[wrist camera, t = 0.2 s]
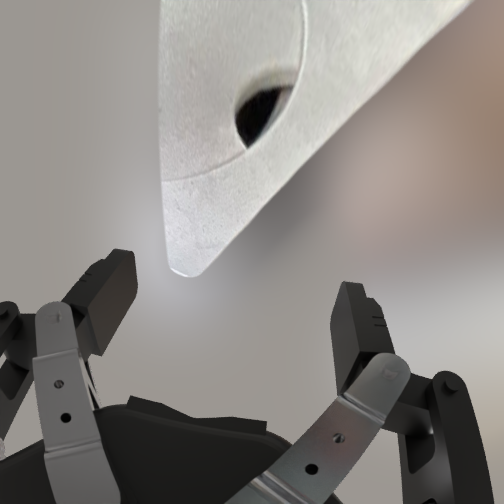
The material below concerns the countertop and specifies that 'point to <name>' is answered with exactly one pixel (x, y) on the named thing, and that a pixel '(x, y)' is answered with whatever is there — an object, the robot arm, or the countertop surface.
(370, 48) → the countertop surface
